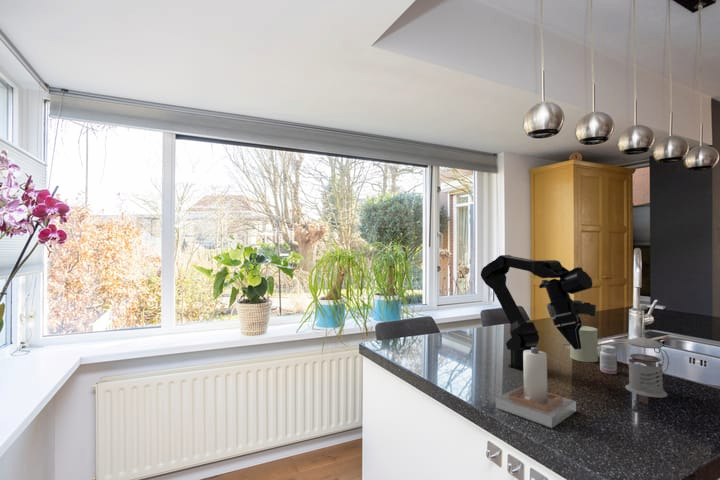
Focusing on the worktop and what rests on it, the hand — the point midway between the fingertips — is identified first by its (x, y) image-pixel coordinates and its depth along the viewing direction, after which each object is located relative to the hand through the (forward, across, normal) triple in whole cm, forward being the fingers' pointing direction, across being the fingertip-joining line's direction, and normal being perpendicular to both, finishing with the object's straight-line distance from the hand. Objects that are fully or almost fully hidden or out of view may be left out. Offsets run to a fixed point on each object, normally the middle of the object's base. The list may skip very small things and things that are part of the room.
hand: (578, 349), depth 108 cm
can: (+4, +37, +2) cm, 37 cm away
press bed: (+13, -20, +13) cm, 27 cm away
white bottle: (+10, -21, +12) cm, 26 cm away
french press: (+14, +12, -13) cm, 23 cm away
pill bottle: (+9, +25, -4) cm, 26 cm away
